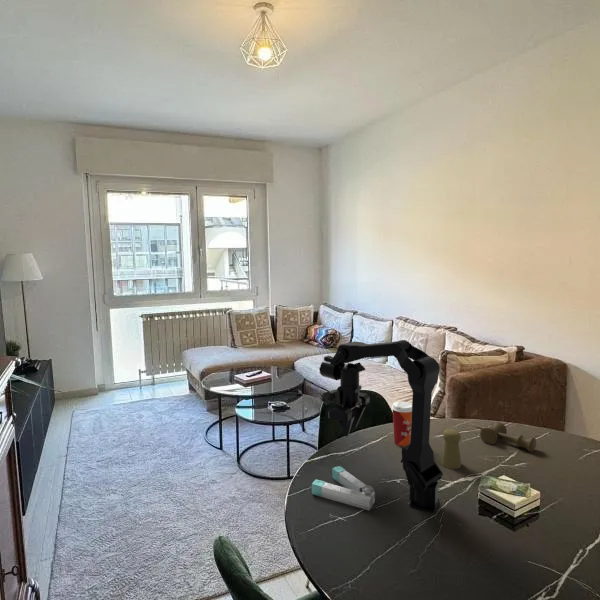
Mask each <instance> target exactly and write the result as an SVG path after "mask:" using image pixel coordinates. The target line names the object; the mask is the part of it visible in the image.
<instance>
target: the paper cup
mask: <svg viewBox="0 0 600 600" xmlns="http://www.w3.org/2000/svg"><path fill="white" fill-rule="evenodd" d="M391 409H392V422H393V425H392V426H393V439H394V440H393V441H394V442H393V443H394V445H396V446H398V447H405V446H407V445H409V444H410V439H411V419H412V402H411V403H410V402H407V401H395V402H394V403H392V406H391Z"/></svg>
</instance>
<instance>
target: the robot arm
mask: <svg viewBox="0 0 600 600" xmlns="http://www.w3.org/2000/svg"><path fill="white" fill-rule="evenodd" d="M384 357H394V358H395V359H396V361H397V363H398V364H399V366H400V367H399V368H401V369H402V370H403V371H404V372H405V373H406V374H407V382H408V385H409V386H410V387H409V388H410V389H411V390H412V400H411V401H412V402H411V404H412V419H411V439H410V444H409V445H407V446H402V448H401V460H400V463H402V469H403V471H404V472H405V475H406V480H407V483H408V485H409V501H410V502H409V507H411V508H413V509H419V510H422V511H426V512H429V513H435V512H436V509H437V507H438V504H439V503H440V499H439V497H438V496H439V494H438V493H439V481H440V480H441V479H442V478H443V475H444V473H443V471H442V470H441V469H440V467H439V466H438V464H437V463H436V461H435V455H434V451H433V448H432V447H431V444H430V434H431V433H430V431H431V430H430V429H431V413H432V411H431V410H432V397H433V395H432V394H433V391H434V388H435V387H436V384H437V382H438V379H439V376H440V371H441V367H440V363H439V362H438V361H437V360H436V359H435V358H434V357H431V356H429V354H428V353H426V352H425V351H424V350H422V349H420V348H418V347H417V346H414V345H413V344H412V343H410V342H409V341H408V340H406V339H401V340H397V341H388V342H376V343H366V342H363V341H351V342H346V343H342V344H339V345H338V346H337V349H336V352H335V354H334V356H332V355H325V356H324V357H323V361H322V362H321V363H320V367H319V368H318V369H319V374H320V375H321V377H324V378H328V379H331V380H334V381H340V384H339V385H340V386H338V387H337V388H335V389H331V390H328V391H324V392H322V394H321V399H320V400H321V401H322V403H323V404H325V405H326V406H327V405H329V404H333V403H336V405H334V406H333V407H332V408H331V409H329V410H328V411H327V415H328V416H327V417H328V419H331V420H335V421H338V422H339V424H340V428H341V430H342V434H343V436H344V437H348V436H349V434H350V431H351V429H352V430H356V428H357V426H358V424H359V423H360V420H361V417H362V415H363V414H364V411H365V409H366V408H367V405H368V404H369V403H370V399H371V398H370V395H369V394H368V393H366V392H365V393H364V392H360V391H361V390H362V387H363V386H362V385H360V373H361V372H364V371H366V368H365V366H364V365H362V363H361V362H360V361H359V360H362V359H365V358H366V359H367V358H368V359H369V358H384ZM356 361H359V362H356ZM352 362H356V363H352ZM362 402H363V403H364V405H363V403H362Z"/></svg>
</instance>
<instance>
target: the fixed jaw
mask: <svg viewBox="0 0 600 600" xmlns="http://www.w3.org/2000/svg"><path fill="white" fill-rule="evenodd" d="M311 495H313V496H317V497H321V498H325V499H327V500H330V501H335V502H338V503H341V504H345V505H349V506H353V507H354V508H355V507H356V508H359V509H362V510H366V511H370V510H371V509H372V507H373V506H374V504H375V503H376V501H375V500H376V492H375V491H374V487H373V486H371V485H367V486H363V487H362V492H359V491H355V490H352V489H348V488H345V487H344V486H340V485H336V484H333V483H328V482H326V481H324V480H319V479H317V478H316V479H314V481H313V482H312V483H311Z"/></svg>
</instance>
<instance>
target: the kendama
mask: <svg viewBox="0 0 600 600" xmlns="http://www.w3.org/2000/svg"><path fill="white" fill-rule="evenodd" d="M476 429H478V430H480V431H479V435H480V436H479V438H480V439H481V441H482V442H483V443H485V444H488V445H495V444H496V443H497V442H498V441H497V440H498V438H502V439H504V440H506V441H509V442H511V443H513V444H515V445H516V447H517V448H523V449H525V450H527V451H528V452H529V453H534V451H535V450H536V448H537V439H536V437H526V436H524V435H523V434H518V435H515V434H509V433H507V430H508V429H507V427H506V425H505V424H504V423H502V422H500V421H494V422H492V424H491V427H488V426H484V427H481V426H476Z"/></svg>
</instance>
